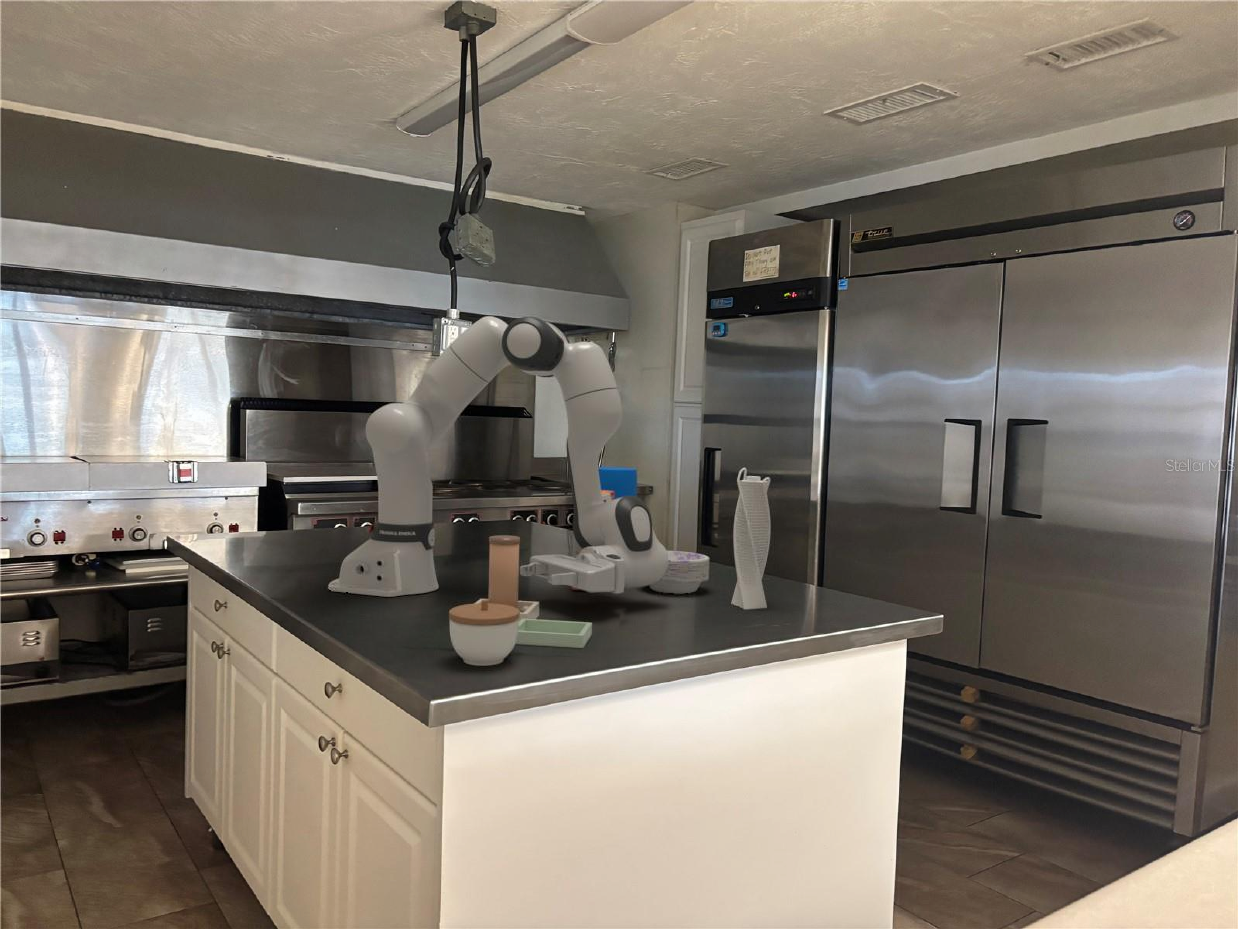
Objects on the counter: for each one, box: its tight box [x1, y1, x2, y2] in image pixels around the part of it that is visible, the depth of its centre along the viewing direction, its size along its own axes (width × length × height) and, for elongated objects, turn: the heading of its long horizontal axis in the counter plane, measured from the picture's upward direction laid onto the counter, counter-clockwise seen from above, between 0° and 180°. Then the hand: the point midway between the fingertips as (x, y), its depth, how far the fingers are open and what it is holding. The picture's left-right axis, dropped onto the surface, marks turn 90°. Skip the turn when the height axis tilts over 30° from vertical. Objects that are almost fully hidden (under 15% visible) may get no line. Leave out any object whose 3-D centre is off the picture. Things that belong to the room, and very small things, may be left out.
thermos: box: [598, 466, 638, 499], centre depth 217 cm, size 11×11×25 cm
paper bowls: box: [648, 550, 710, 595], centre depth 198 cm, size 15×15×8 cm
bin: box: [473, 598, 540, 621], centre depth 162 cm, size 22×10×4 cm, turn 83°
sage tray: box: [515, 618, 593, 649], centre depth 149 cm, size 12×9×3 cm
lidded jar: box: [448, 598, 520, 667], centre depth 139 cm, size 11×11×9 cm
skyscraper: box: [731, 467, 771, 610], centre depth 184 cm, size 8×8×28 cm
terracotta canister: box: [488, 534, 521, 609], centre depth 161 cm, size 5×5×15 cm
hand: (535, 575), depth 165 cm, fingers open, 8 cm apart
